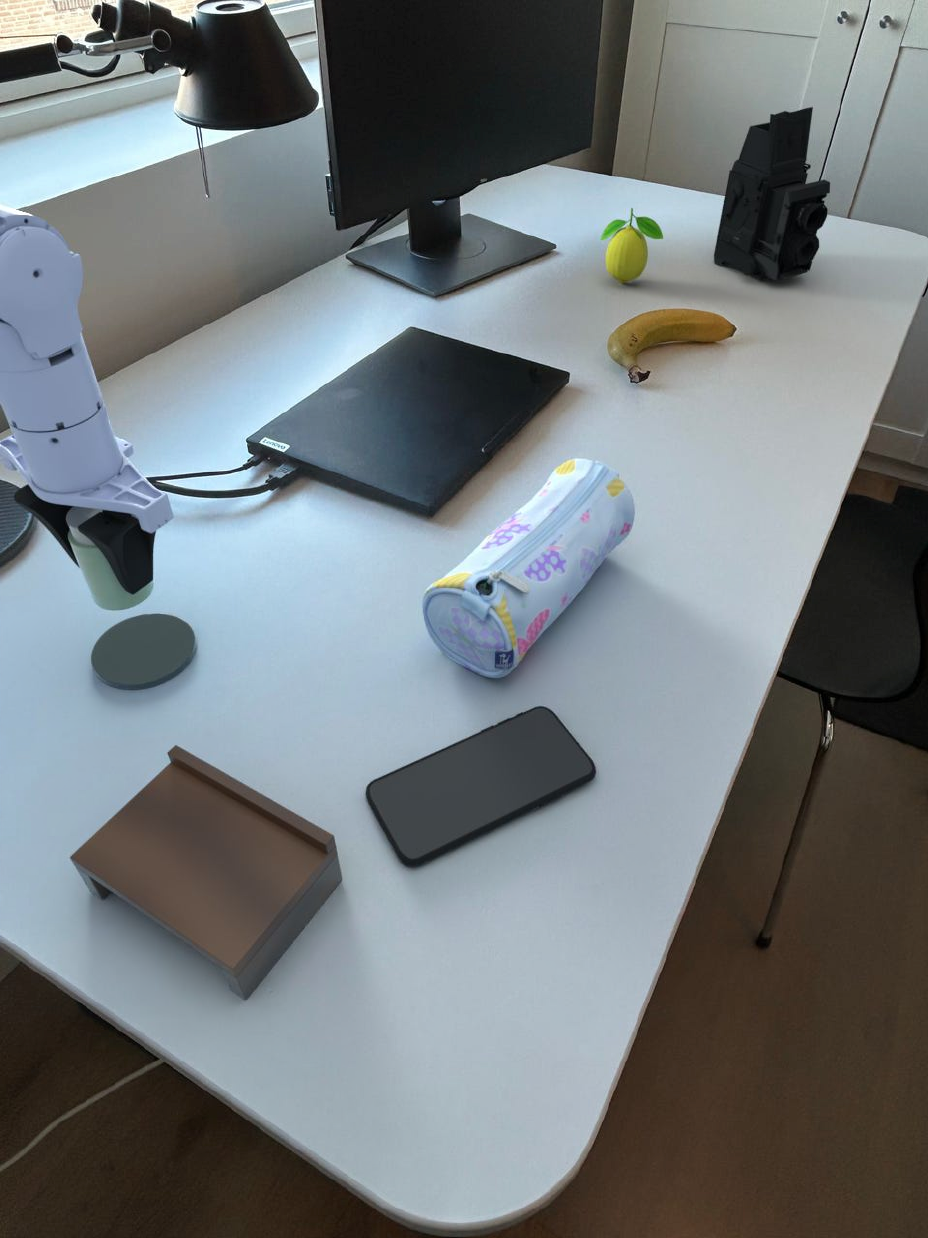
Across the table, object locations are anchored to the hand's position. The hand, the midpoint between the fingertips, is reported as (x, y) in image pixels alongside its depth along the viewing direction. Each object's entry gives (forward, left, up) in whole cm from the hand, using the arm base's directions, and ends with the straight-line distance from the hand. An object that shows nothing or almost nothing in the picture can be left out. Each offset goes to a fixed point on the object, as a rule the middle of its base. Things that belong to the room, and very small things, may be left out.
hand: (116, 574), depth 64 cm
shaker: (0, 0, -2) cm, 2 cm away
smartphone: (+28, -8, -8) cm, 31 cm away
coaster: (0, 0, -8) cm, 8 cm away
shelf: (+13, -18, -8) cm, 24 cm away
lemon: (+34, +78, -9) cm, 86 cm away
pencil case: (+29, +11, -9) cm, 33 cm away
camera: (+53, +85, -9) cm, 101 cm away
